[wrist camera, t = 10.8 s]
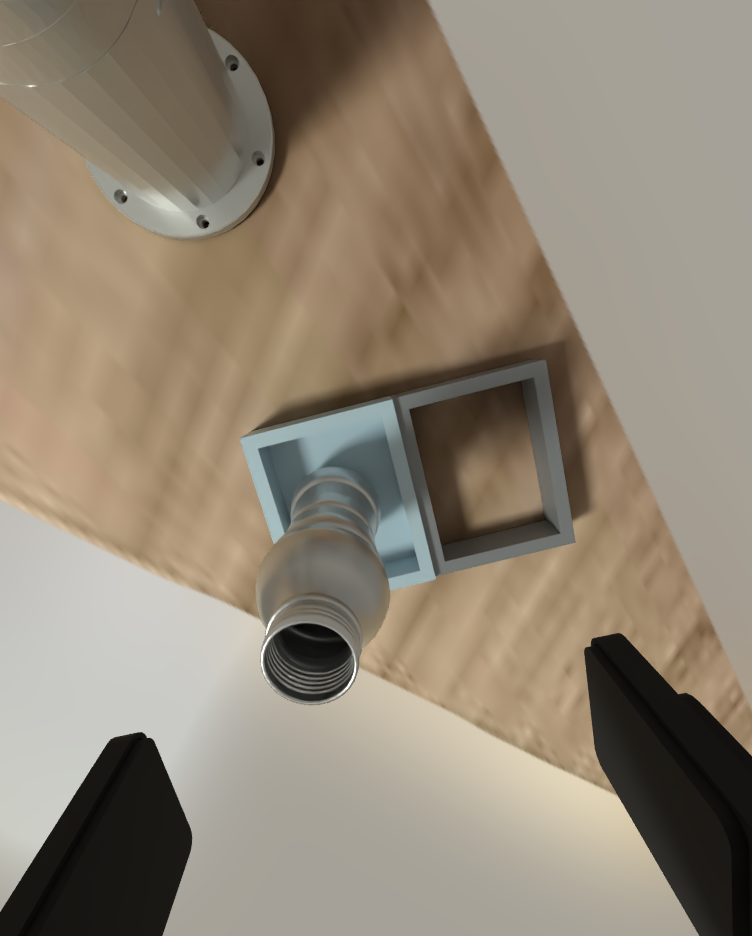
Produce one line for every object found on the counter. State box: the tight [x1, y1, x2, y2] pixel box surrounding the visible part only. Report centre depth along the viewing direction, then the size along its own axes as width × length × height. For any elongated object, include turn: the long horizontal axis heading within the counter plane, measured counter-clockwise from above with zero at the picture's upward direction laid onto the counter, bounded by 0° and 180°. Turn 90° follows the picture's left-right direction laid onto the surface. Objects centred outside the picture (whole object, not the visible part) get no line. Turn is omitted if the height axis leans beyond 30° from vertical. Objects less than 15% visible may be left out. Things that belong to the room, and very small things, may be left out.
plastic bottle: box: [255, 466, 390, 705], centre depth 27 cm, size 6×7×20 cm
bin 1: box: [240, 396, 436, 590], centre depth 35 cm, size 14×11×4 cm
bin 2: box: [390, 359, 575, 576], centre depth 35 cm, size 14×11×3 cm
